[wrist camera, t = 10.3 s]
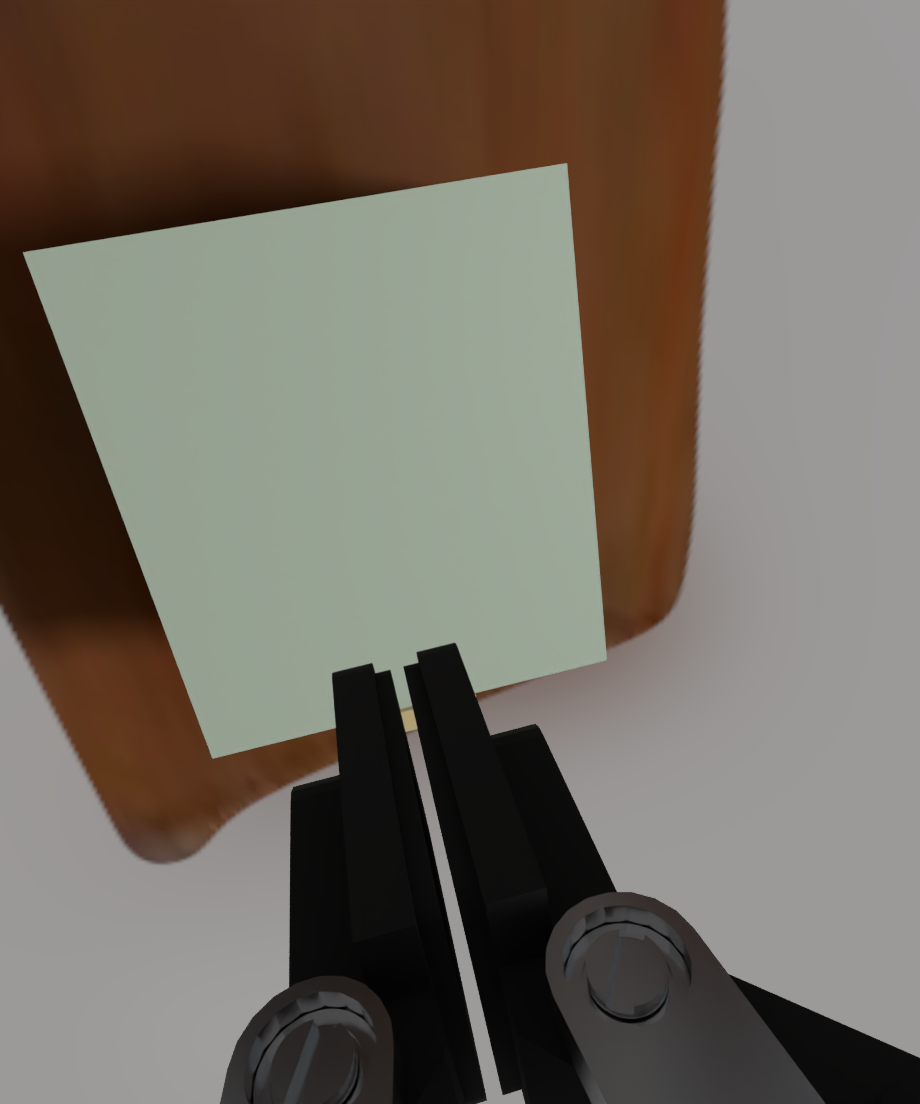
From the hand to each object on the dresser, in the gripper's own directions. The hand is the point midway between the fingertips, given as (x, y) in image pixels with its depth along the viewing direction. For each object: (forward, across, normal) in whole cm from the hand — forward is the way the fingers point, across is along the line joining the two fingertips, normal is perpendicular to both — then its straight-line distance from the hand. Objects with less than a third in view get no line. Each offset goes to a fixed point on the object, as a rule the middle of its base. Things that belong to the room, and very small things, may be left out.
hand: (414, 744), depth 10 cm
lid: (+20, 0, +3) cm, 20 cm away
